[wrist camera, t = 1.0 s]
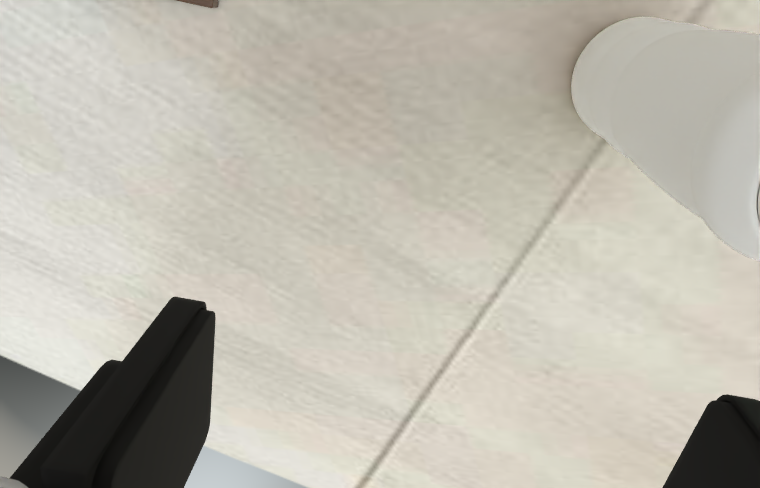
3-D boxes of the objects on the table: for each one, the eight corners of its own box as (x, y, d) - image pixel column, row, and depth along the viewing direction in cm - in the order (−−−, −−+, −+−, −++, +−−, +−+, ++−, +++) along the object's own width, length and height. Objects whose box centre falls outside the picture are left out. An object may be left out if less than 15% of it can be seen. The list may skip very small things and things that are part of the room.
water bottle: (561, 136, 36) (811, 405, 13) (575, 16, 33) (931, 97, 10) (676, 135, 35) (1140, 413, 13) (701, 14, 32) (1367, 93, 10)
